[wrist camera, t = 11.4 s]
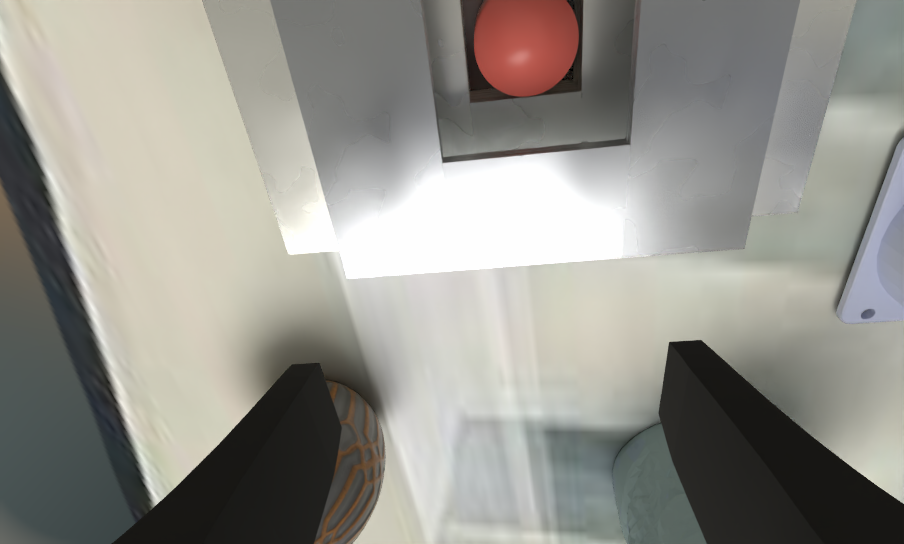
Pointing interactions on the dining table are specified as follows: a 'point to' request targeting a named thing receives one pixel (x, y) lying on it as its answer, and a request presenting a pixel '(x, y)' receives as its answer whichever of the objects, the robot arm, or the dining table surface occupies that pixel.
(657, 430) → the green cylindrical pot
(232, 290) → the dining table surface
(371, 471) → the vase
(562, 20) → the button
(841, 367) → the dining table surface
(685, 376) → the robot arm
